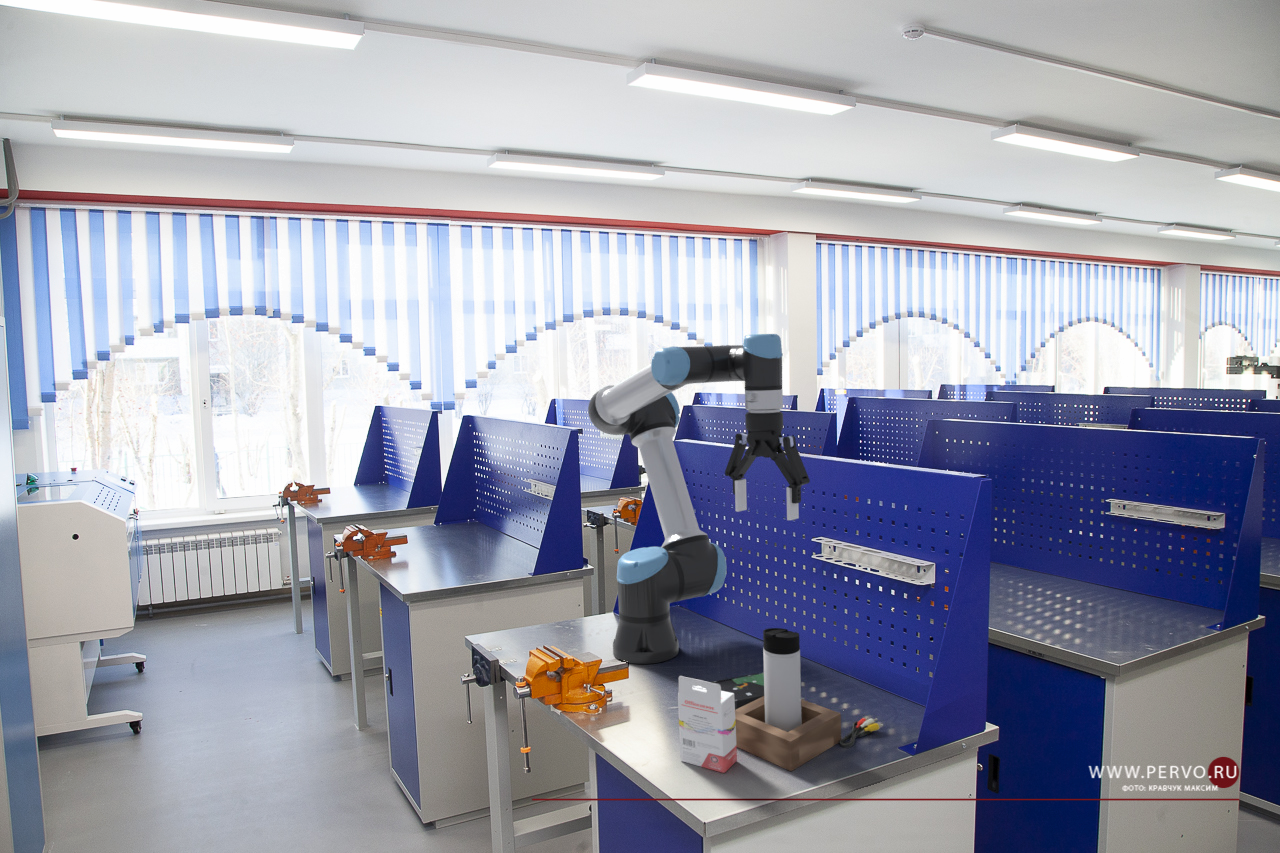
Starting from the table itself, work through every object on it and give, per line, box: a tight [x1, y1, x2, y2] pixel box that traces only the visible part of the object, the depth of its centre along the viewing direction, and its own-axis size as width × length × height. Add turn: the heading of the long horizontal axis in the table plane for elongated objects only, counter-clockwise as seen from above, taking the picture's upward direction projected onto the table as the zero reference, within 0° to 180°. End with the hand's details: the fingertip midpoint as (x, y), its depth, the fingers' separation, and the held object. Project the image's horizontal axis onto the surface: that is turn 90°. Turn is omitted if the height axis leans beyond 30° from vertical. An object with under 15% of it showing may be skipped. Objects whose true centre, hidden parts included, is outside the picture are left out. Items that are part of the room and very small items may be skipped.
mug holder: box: [735, 696, 842, 772], centre depth 137 cm, size 14×14×5 cm
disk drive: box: [709, 672, 764, 710], centre depth 155 cm, size 10×3×15 cm
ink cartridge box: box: [677, 675, 738, 774], centre depth 131 cm, size 9×5×15 cm, turn 56°
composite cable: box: [839, 716, 884, 749], centre depth 138 cm, size 10×5×2 cm, turn 126°
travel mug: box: [762, 627, 802, 732], centre depth 136 cm, size 6×7×20 cm
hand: (766, 514), depth 161 cm, fingers open, 13 cm apart
